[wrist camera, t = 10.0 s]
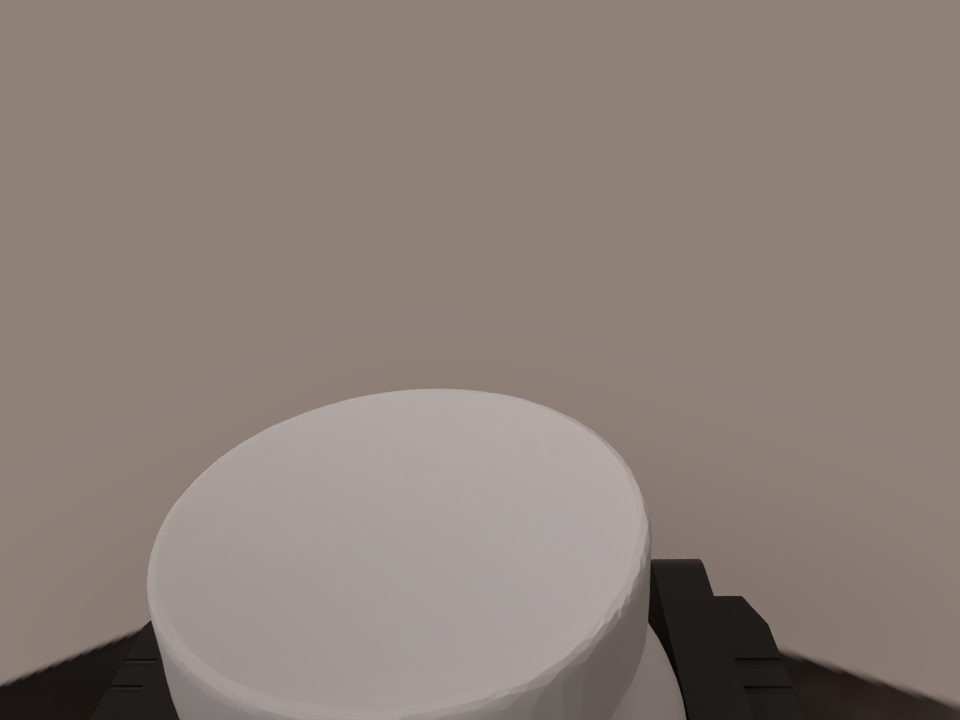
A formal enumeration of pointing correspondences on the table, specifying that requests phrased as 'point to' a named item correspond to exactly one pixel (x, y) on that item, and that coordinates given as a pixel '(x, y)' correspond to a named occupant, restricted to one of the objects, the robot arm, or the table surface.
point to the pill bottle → (412, 570)
